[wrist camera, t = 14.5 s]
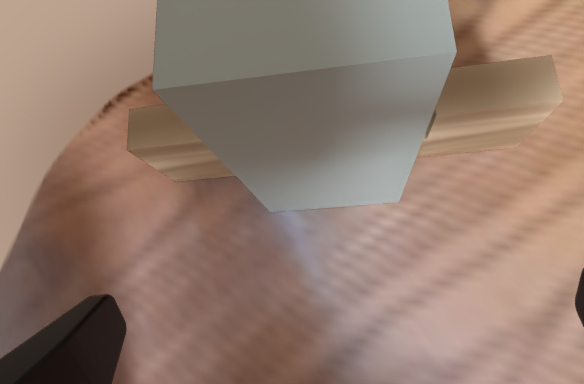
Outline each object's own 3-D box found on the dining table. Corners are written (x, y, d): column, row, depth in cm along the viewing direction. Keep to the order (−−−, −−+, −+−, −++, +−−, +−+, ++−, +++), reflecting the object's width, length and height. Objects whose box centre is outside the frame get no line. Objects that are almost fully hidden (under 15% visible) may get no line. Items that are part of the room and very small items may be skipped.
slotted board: (516, 147, 21) (563, 100, 16) (175, 181, 23) (126, 150, 18) (508, 111, 21) (551, 55, 16) (175, 148, 24) (129, 109, 19)
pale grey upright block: (398, 202, 21) (456, 52, 8) (270, 212, 22) (152, 89, 9) (386, 95, 22) (419, -164, 10) (267, 109, 23) (163, -113, 11)
